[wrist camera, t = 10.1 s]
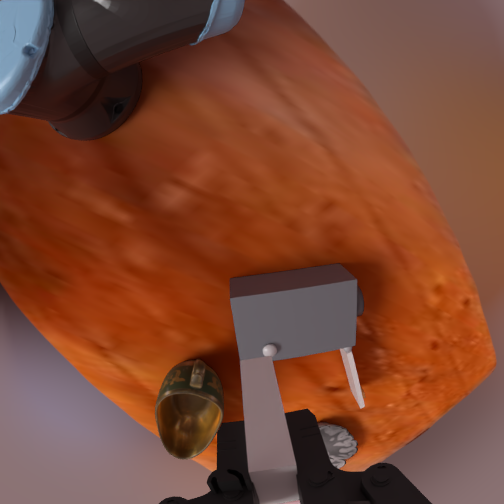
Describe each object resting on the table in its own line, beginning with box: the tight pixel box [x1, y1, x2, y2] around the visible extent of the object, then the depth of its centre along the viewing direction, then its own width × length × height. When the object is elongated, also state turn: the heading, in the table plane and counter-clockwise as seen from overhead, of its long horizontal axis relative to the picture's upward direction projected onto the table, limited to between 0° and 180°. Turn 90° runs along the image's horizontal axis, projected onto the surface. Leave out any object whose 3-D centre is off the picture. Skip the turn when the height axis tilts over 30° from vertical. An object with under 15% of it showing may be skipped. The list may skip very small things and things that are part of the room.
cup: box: [155, 359, 224, 459], centre depth 44 cm, size 13×20×10 cm, turn 139°
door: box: [340, 346, 365, 409], centre depth 46 cm, size 2×14×6 cm, turn 21°
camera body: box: [230, 263, 364, 361], centre depth 42 cm, size 10×18×8 cm, turn 97°
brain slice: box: [318, 422, 358, 469], centre depth 54 cm, size 20×17×3 cm
